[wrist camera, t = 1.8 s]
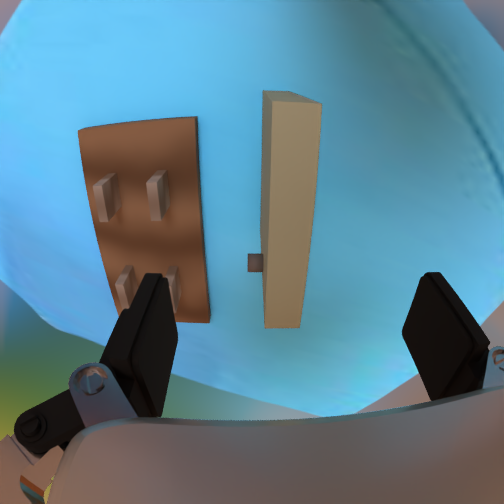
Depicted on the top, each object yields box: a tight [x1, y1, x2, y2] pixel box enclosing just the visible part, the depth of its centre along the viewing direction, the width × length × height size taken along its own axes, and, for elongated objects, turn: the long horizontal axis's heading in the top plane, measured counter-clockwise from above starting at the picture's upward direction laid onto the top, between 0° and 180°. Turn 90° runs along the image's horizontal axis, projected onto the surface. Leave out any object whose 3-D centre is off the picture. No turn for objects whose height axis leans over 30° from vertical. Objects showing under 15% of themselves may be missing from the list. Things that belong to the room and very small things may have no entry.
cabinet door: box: [248, 90, 322, 328], centre depth 20 cm, size 12×3×12 cm, turn 0°
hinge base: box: [78, 116, 211, 323], centre depth 26 cm, size 20×10×4 cm, turn 0°
